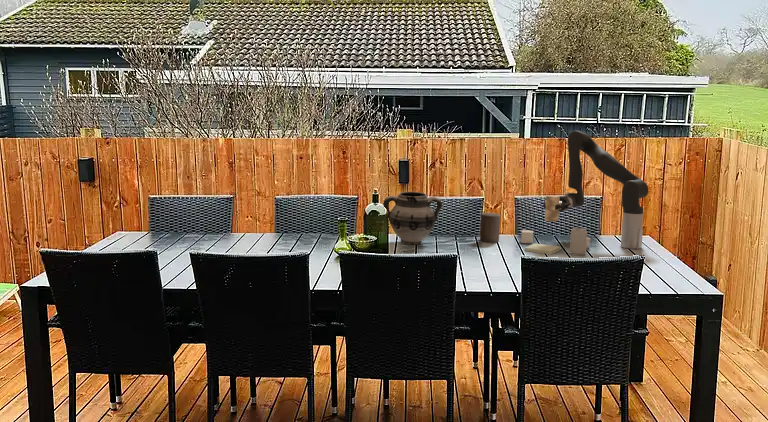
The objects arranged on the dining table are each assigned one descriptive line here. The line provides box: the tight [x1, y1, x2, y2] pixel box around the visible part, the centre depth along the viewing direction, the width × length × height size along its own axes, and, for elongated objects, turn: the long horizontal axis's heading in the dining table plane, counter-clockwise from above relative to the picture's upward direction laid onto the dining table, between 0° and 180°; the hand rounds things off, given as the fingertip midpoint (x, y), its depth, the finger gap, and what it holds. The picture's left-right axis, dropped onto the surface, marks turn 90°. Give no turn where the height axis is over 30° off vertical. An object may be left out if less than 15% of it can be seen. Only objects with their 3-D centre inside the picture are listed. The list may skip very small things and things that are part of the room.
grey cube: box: [520, 229, 534, 244], centre depth 348 cm, size 6×6×6 cm
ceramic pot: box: [382, 190, 443, 246], centre depth 337 cm, size 29×23×25 cm
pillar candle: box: [479, 211, 501, 244], centre depth 347 cm, size 10×10×15 cm
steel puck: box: [586, 236, 591, 251], centre depth 334 cm, size 6×6×5 cm
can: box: [569, 227, 588, 256], centre depth 321 cm, size 8×8×12 cm
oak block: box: [544, 194, 561, 223], centre depth 334 cm, size 5×5×12 cm
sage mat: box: [524, 243, 562, 255], centre depth 328 cm, size 13×13×2 cm
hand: (550, 206), depth 332 cm, fingers closed on oak block, 5 cm apart
